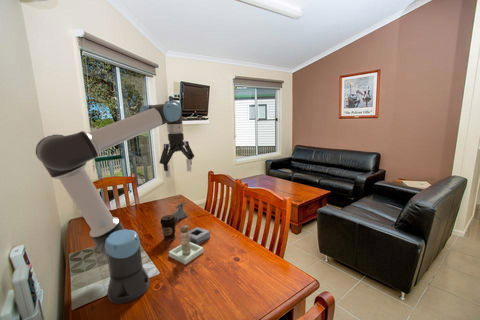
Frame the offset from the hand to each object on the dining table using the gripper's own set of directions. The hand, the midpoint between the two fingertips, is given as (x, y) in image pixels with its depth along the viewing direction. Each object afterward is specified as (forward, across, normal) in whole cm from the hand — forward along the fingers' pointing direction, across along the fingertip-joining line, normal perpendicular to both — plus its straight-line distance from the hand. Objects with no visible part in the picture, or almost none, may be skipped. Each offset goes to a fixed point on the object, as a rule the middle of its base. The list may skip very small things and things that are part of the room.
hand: (179, 174), depth 118 cm
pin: (+38, -7, -9) cm, 40 cm away
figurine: (+39, +20, +30) cm, 53 cm away
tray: (+39, -7, -9) cm, 40 cm away
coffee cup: (+39, -2, +11) cm, 40 cm away
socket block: (+39, +6, -3) cm, 39 cm away
